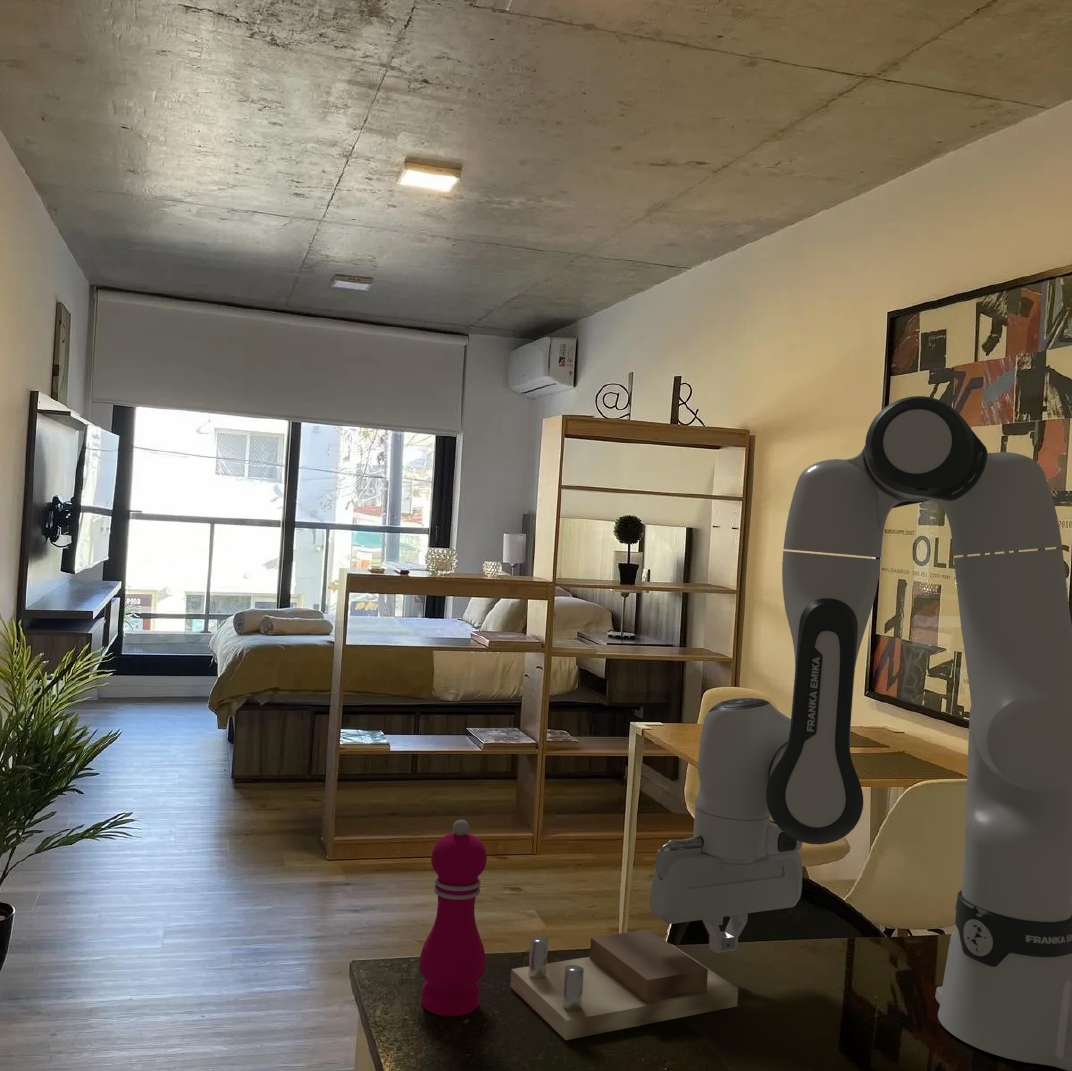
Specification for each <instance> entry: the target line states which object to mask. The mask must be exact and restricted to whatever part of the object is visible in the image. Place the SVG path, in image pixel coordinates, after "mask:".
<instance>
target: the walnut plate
mask: <svg viewBox="0 0 1072 1071" xmlns="http://www.w3.org/2000/svg"><path fill="white" fill-rule="evenodd" d="M671 944H672V943H669V942H668V941H666V940H664V939H663V938H661V936H659V935H657V934H656V933H654V932H652V931H651V930H649V929H642V930H641V929H640V930H635V931H627V932H621V933H620V932H619V933H613V934H607V935H599V936H593V937H590V944H589V945H590V947H589V957H590V960H592V961H593V962H594V963H596V964H597V965H598V966H599V967H601V968H602V969H603V970H604V971H606V972H607V973H608V974H609V975H611V976H612V977H613V978H615V979H616V980H617V981H618V982H620V983H621V984H622V985H623V986H625V987H626V988H627V989H629V990H630V991H631V992H632V993H634V994H635V995H636V996H637V997H639V998H640V999H641V1000H642V1001H644V1002H645V1003H651V1002H656V1001H661V1000H667V999H672V998H678V997H683V996H688V995H694V994H699V993H704V992H707V978H708V969H709V968H708V969H706V968H705V967H706V966H705V967H703V966H702V965H703V964H702V965H700V964H699V963H700V962H699V963H697V962H696V961H697V960H696V961H694V960H693V959H694V958H693V959H691V958H690V957H691V956H690V957H688V956H687V955H688V954H687V955H685V954H684V953H685V952H684V951H683V952H684V953H683V952H681V951H682V950H681V949H680V950H681V951H680V950H678V949H679V948H678V947H677V948H678V949H677V948H675V947H676V946H675V945H674V946H675V947H674V946H672V945H673V944H672V945H671Z"/></svg>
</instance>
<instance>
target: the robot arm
mask: <svg viewBox="0 0 1072 1071" xmlns="http://www.w3.org/2000/svg"><path fill="white" fill-rule="evenodd" d="M1043 469H1044V468H1042V466H1041V465H1040V464H1039V463H1038V462H1037V461H1035V460H1034V459H1033V458H1031V457H1029V456H1026V455H1023V454H1022V453H1021V454H1019V453H1015V452H1008V451H1007V452H1005V451H1004V452H1003V451H998V452H988V448H987V447H986V445H985V444H984V443H983V442H982V441H981V439H980V438H979V437H978V435H977V434H976V433H975V432H974V430H973V429H972V427H970V426H969V424H968V422H967V421H966V420H965V418H963V416H962V415H961V414H960V412H958V411H957V410H956V409H955V408H953V407H952V406H951V405H949V404H948V403H946V402H944V401H943V400H941V399H938V398H935V397H930V396H924V395H916V396H908V397H907V396H906V397H903V398H900V399H898V400H896V401H893V402H892V403H889V404H888V405H886V406H885V407H884V408H883V409H882V410H880V412H879V413H877V414H876V416H875V417H874V418H873V420H872V421H871V423H870V425H869V428H868V430H867V433H866V436H865V445H864V447H863V449H862V451H860V453H858V454H857V455H856V456H854V457H852V458H851V457H850V458H848V459H840V458H839V459H837V458H835V459H832V458H831V459H825V460H820V461H819V462H815V463H813V464H810V465H809V466H807V468H805V469H804V470H803V471H802V472H801V474H800V475H799V477H798V479H797V482H796V485H795V488H794V490H793V495H792V497H791V498H792V499H791V503H790V506H789V511H788V515H787V520H786V526H785V533H784V541H783V542H784V543H783V552H782V562H781V564H782V565H781V566H782V567H781V568H782V570H781V578H782V580H781V581H782V582H781V584H782V592H783V593H782V595H783V603H784V611H785V614H786V619H787V621H788V626H789V630H790V636H791V638H792V640H791V641H792V644H793V645H792V646H793V651H794V667H795V668H794V681H793V691H792V703H791V704H792V706H791V716H790V718H789V717H788V716H786V715H785V714H784V713H782V712H781V711H779V710H778V709H777V708H776V707H774V705H773V704H772V703H771V702H770V701H768V700H765V699H763V698H754V697H743V698H742V697H741V698H733V699H732V698H731V699H727V700H723V701H720V702H718V703H717V704H714V705H713V706H712V707H711V708H710V709H709V710H708V711H707V712H706V715H705V717H704V721H703V723H702V727H701V728H702V729H701V735H700V741H699V750H698V759H697V774H698V777H699V778H698V779H699V789H698V794H697V796H696V800H695V806H694V819H693V820H694V821H693V832H692V833H693V834H692V837H687V838H686V837H685V838H683V839H679V838H678V839H677V838H673V839H670V840H667V842H666V844H664V845H662V846H661V847H660V848H659V849H658V850H657V852H656V855H655V866H654V871H653V876H652V882H651V885H650V893H649V900H648V907H649V909H650V912H651V913H652V915H653V916H654V917H656V918H657V919H658V920H660V921H662V922H663V923H666V924H667V925H671V924H681V923H685V922H686V923H688V922H694V921H695V922H696V921H700V920H701V921H703V924H704V926H705V928H706V931H707V932H708V935H709V938H708V940H709V942H708V946H709V950H711V951H712V952H714V953H716V954H718V953H723V952H732V951H736V950H738V944H739V943H738V942H739V937H740V935H741V934H742V932H743V930H744V929H745V926H746V924H747V923H748V918H749V917H748V916H749V914H752V913H760V912H766V911H773V910H781V909H782V910H783V909H787V908H788V909H789V908H794V907H795V906H796V905H797V903H799V900H800V898H801V896H802V889H803V861H802V857H801V855H800V853H799V851H800V850H801V849H802V847H803V843H804V844H808V845H827V844H831V843H835V842H837V841H839V840H841V839H843V838H844V837H846V836H848V834H850V833H851V832H852V831H853V830H854V828H855V827H856V826H857V824H858V823H859V821H860V819H861V816H862V813H863V809H864V794H863V788H862V785H861V782H860V779H859V777H858V774H857V771H856V768H855V766H854V763H853V760H852V754H851V745H850V744H851V743H850V742H851V740H850V739H851V724H852V712H853V709H852V708H853V697H854V686H855V684H854V683H855V672H856V671H855V670H856V664H857V660H858V657H859V656H858V655H859V653H860V652H859V651H860V649H861V644H862V642H863V640H864V639H863V638H864V635H865V632H866V628H867V626H868V622H869V619H870V616H871V613H872V610H873V606H874V601H875V598H876V594H877V588H878V584H879V577H880V571H881V564H882V562H881V561H882V559H879V558H882V553H883V552H882V549H883V537H884V530H885V525H886V521H887V519H888V516H889V514H890V512H891V511H892V509H896V508H899V507H905V506H910V505H914V504H915V505H916V504H920V503H925V502H928V501H933V502H935V503H937V504H938V505H939V506H940V507H941V509H942V510H943V512H944V513H945V516H946V518H947V520H948V524H949V525H948V526H949V528H950V534H951V544H952V556H953V564H954V565H953V566H954V573H955V575H954V576H955V581H956V593H957V600H958V601H957V602H958V609H959V619H960V620H959V621H960V629H961V636H962V642H963V650H964V659H965V664H966V672H967V681H968V686H969V687H968V688H969V697H970V704H971V705H970V709H969V718H968V719H969V721H968V722H969V723H968V743H967V745H968V746H967V771H966V774H967V775H966V777H967V778H966V799H965V800H966V801H965V802H966V803H965V806H966V808H965V810H966V812H965V815H966V816H965V834H964V836H965V837H964V848H963V849H964V850H963V851H964V853H963V863H962V864H963V865H962V866H963V867H962V881H961V882H962V883H961V889H960V890H959V891H958V892H957V897H956V903H955V908H954V911H955V920H954V923H955V926H956V928H957V929H955V930H954V931H953V932H951V936H950V939H949V945H948V950H947V955H946V956H947V958H946V964H945V969H944V975H943V981H942V986H938V987H936V991H935V997H934V998H935V999H936V1002H937V1003H938V1004H939V1008H938V1012H937V1019H938V1020H939V1022H940V1024H941V1025H942V1027H943V1028H944V1029H945V1030H947V1031H948V1032H949V1033H950V1034H951V1035H953V1036H954V1037H955V1038H958V1040H960V1041H962V1042H964V1043H966V1044H968V1045H969V1046H972V1047H974V1048H976V1049H979V1050H982V1051H983V1052H986V1053H989V1054H992V1055H995V1056H998V1057H1001V1058H1005V1059H1009V1060H1013V1061H1017V1062H1023V1063H1028V1064H1036V1065H1045V1066H1050V1067H1055V1068H1057V1069H1062V1070H1065V1071H1072V618H1071V612H1070V602H1069V593H1068V586H1067V577H1066V569H1065V566H1066V565H1065V560H1064V551H1063V550H1064V549H1063V548H1062V547H1063V541H1062V535H1061V530H1060V525H1059V518H1058V515H1057V510H1056V506H1055V503H1054V502H1055V501H1054V499H1053V496H1052V492H1051V488H1050V486H1049V483H1048V479H1047V476H1046V474H1045V472H1044V470H1043ZM1060 547H1061V548H1060ZM1048 548H1049V549H1048ZM1050 548H1051V549H1050ZM810 552H812V553H810ZM1004 552H1005V553H1004ZM991 553H993V554H991ZM969 555H970V556H969ZM857 556H858V557H857ZM957 556H958V557H957ZM868 557H869V558H868ZM771 818H772V820H771ZM724 917H729V920H728V923H727V925H726V927H725V929H724V931H721V928H720V926H722V925H723V924H724V923H723V921H724Z"/></svg>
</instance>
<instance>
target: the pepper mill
mask: <svg viewBox="0 0 1072 1071" xmlns="http://www.w3.org/2000/svg"><path fill="white" fill-rule="evenodd" d="M469 831H470V825H469V823H468V822H467V820H465V819H458V820H456V821H455V822H454V823H453V824H452V832H450V833H447V834H445V835H444V836H442V837H440V838H439V839H438V840H437V842H436V843H435V844H434V847H433V848H432V852H431V856H430V857H431V860H430V862H431V865H432V866H431V867H432V869H433V870H434V872H435V873H436V875H437V876H436V877H435V878H434V884H435V885H434V888H433V891H434V893H435V894H436V895H437V909H436V910H437V911H436V917H435V921H434V923H433V925H432V928H431V930H430V932H429V934H428V936H427V938H426V939H425V942H424V943H423V946H422V948H421V951H420V957H419V964H418V967H419V972H420V974H421V976H422V977H423V979H424V980H425V982H424V983H423V984H422V988H421V1005H422V1007H423V1008H424V1009H425V1010H426V1011H428V1012H429V1013H431V1014H434V1015H438V1016H442V1017H460V1016H461V1017H462V1016H465V1015H466V1016H467V1015H468V1014H471V1013H473V1012H475V1011H476V1010H477V1008H478V1007H479V1005H480V992H481V991H480V990H481V988H480V986H479V985H478V982H479V981H480V979H482V977H483V975H484V974H485V971H486V968H487V966H486V964H487V962H486V961H487V960H486V953H485V952H486V951H485V947H484V945H483V941H482V937H481V936H480V932H479V929H478V926H477V924H476V917H475V904H476V898H477V896H479V895H480V894H481V888H480V885H481V884H482V881H481V879H480V878H479V876H480V875H481V874H482V873H484V872H483V871H485V868H486V867H487V866H486V865H487V861H488V860H487V859H488V858H487V857H488V856H487V850H486V848H485V844H483V842H482V841H481V839H480V838H478V837H476V836H475V835H473V834H471V833H469Z"/></svg>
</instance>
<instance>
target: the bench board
mask: <svg viewBox="0 0 1072 1071" xmlns="http://www.w3.org/2000/svg"><path fill="white" fill-rule="evenodd" d="M670 944H671V945H672V946H674V947H675V948H677V949H678V950H680V951H681V952H683V953H684V954H685V955H687V956H688V957H690V958H691V959H693V960H694V961H696V962H697V963H699V964H700V965H702V966H703V967H705V968H706V969H708V978H707V992H704V993H699V994H694V995H688V996H683V997H678V998H672V999H667V1000H661V1001H656V1002H651V1003H645V1002H644V1001H642V1000H641V999H640V998H639V997H637V996H636V995H635V994H634V993H632V992H631V991H630V990H629V989H627V988H626V987H625V986H623V985H622V984H621V983H620V982H618V981H617V980H616V979H615V978H613V977H612V976H611V975H609V974H608V973H607V972H606V971H604V970H603V969H602V968H601V967H599V966H598V965H597V964H596V963H594V962H593V961H592V960H590V956H587V957H580V958H573V959H567V960H562V961H561V960H560V961H554V962H550V963H549V962H548V952H549V951H548V949H549V948H548V947H549V939H548V938H547V937H544V936H533V937H531V938H530V941H529V955H528V957H529V958H528V966H523V967H517V968H511V970H510V986H509V987H510V988H511V990H513V991H514V992H515V993H516V994H517V995H518V996H520V998H521V999H522V1000H524V1002H525V1003H526V1004H528V1005H529V1007H530V1008H532V1009H533V1010H534V1011H535V1012H536V1013H537V1014H538V1015H539V1016H540V1017H541V1018H542V1019H543V1020H544V1021H545V1022H546V1023H548V1025H549V1026H550V1027H552V1029H553V1030H554V1031H555V1032H556V1033H558V1034H559V1035H560V1037H562V1038H563V1039H564V1040H565V1041H569V1040H574V1039H579V1038H584V1037H588V1036H589V1037H591V1036H593V1035H594V1036H595V1035H599V1034H603V1033H604V1034H605V1033H610V1032H614V1031H619V1030H624V1029H630V1028H633V1027H634V1028H635V1027H640V1026H644V1025H650V1024H654V1023H660V1022H665V1021H670V1020H674V1019H675V1020H676V1019H680V1018H685V1017H689V1016H696V1015H700V1014H705V1013H706V1014H707V1013H711V1012H717V1011H721V1010H725V1009H730V1008H734V1007H738V999H739V998H738V997H739V988H738V987H737V986H735V985H733V984H732V983H731V982H729V981H727V980H726V979H724V978H723V977H722V976H720V975H719V974H718V973H715V972H714V971H712V970H711V969H709V968H708V967H707V966H705V964H703V963H700V962H699V961H698V960H696V959H695V958H693V957H692V956H690V955H689V954H687V953H685V952H684V951H682V950H681V949H679V948H678V947H676V945H674V944H672V943H670Z"/></svg>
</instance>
